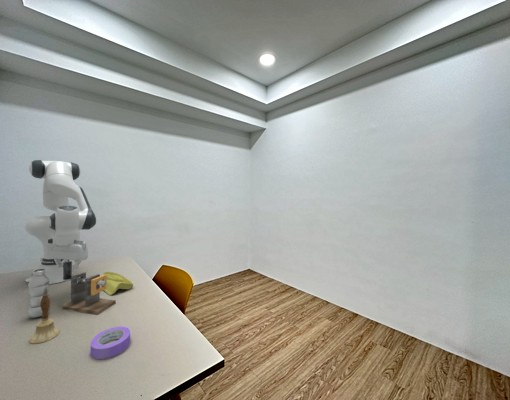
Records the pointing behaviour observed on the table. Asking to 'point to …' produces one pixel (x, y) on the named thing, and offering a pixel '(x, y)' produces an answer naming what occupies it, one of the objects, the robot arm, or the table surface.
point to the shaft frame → (86, 297)
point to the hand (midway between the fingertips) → (67, 268)
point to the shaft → (68, 274)
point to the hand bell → (44, 324)
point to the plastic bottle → (37, 292)
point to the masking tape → (114, 348)
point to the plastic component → (116, 282)
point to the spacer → (93, 284)
